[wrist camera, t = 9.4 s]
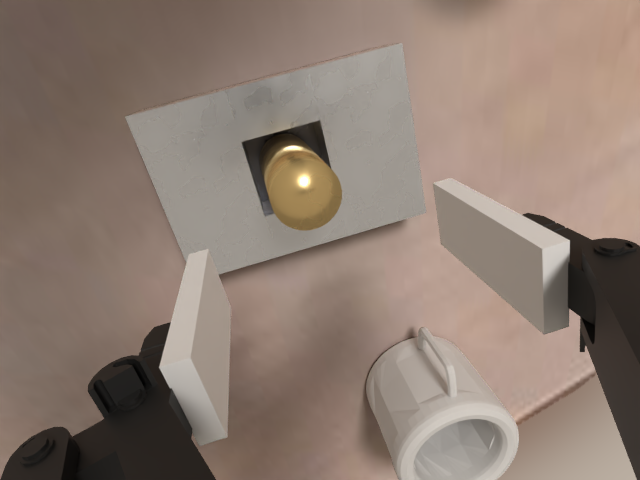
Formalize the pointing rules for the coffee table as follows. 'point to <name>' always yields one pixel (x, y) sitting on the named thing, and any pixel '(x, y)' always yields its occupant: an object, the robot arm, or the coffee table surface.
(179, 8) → the coffee table surface
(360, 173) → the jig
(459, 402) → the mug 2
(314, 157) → the brass cylinder rod
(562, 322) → the robot arm
